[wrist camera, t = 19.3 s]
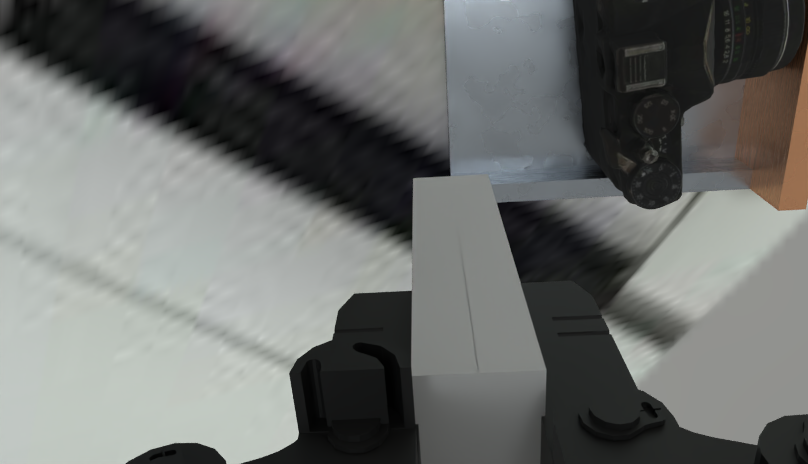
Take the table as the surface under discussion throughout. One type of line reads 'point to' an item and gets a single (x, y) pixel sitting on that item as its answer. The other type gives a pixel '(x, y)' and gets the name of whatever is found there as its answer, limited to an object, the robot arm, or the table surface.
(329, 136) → the table surface
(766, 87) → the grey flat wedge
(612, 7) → the camera
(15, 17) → the table surface
